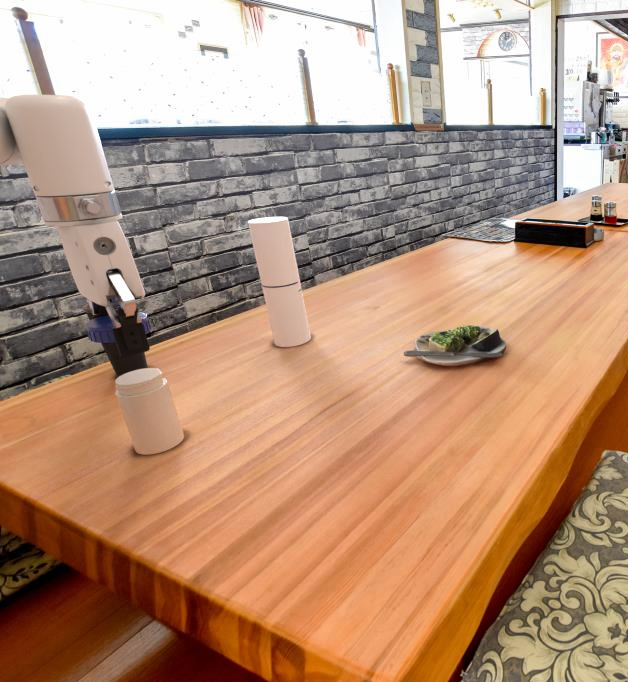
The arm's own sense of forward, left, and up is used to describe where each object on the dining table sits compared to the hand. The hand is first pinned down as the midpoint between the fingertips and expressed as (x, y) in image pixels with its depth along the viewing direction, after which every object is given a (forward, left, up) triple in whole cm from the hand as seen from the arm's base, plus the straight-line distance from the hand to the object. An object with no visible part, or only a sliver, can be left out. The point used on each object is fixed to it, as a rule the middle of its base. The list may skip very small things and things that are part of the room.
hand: (125, 346), depth 70 cm
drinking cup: (-10, +30, -15) cm, 35 cm away
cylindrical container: (+18, +34, -15) cm, 41 cm away
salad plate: (+49, +13, -15) cm, 53 cm away
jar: (0, 0, -15) cm, 15 cm away
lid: (0, 0, +3) cm, 3 cm away
